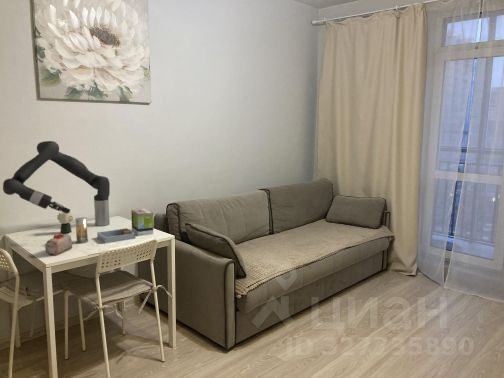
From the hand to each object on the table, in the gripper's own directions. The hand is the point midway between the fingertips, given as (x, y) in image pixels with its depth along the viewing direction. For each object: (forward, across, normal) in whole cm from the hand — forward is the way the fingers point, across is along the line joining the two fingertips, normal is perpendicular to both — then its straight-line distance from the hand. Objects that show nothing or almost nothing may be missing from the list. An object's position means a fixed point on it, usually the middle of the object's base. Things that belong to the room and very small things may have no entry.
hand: (69, 211), depth 235 cm
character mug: (+3, +27, +15) cm, 31 cm away
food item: (+6, -12, +21) cm, 25 cm away
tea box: (+44, +11, -4) cm, 46 cm away
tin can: (+14, +3, +13) cm, 20 cm away
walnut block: (+35, +4, +1) cm, 36 cm away
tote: (+31, +2, +4) cm, 31 cm away
